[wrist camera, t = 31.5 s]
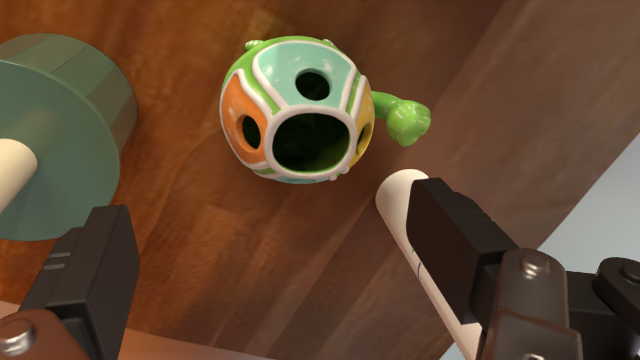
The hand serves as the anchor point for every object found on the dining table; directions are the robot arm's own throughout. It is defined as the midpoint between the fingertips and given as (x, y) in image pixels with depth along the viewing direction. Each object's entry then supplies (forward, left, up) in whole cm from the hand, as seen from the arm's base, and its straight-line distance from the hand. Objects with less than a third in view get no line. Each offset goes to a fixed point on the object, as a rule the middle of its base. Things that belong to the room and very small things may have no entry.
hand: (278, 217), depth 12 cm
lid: (+6, -16, -20) cm, 26 cm away
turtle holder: (+6, +6, -30) cm, 31 cm away
